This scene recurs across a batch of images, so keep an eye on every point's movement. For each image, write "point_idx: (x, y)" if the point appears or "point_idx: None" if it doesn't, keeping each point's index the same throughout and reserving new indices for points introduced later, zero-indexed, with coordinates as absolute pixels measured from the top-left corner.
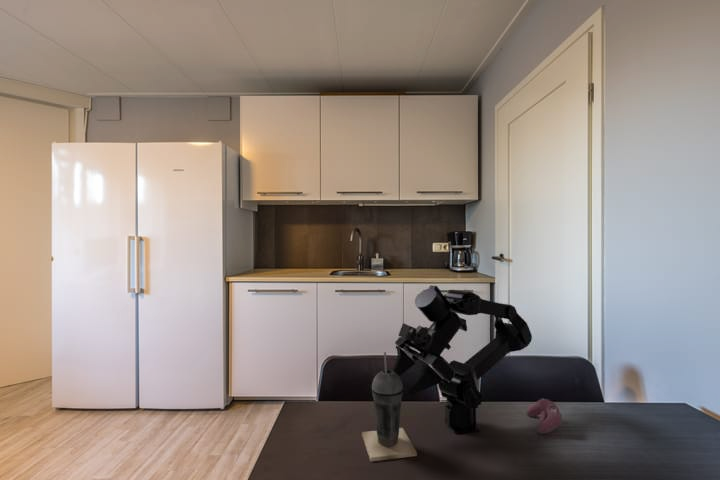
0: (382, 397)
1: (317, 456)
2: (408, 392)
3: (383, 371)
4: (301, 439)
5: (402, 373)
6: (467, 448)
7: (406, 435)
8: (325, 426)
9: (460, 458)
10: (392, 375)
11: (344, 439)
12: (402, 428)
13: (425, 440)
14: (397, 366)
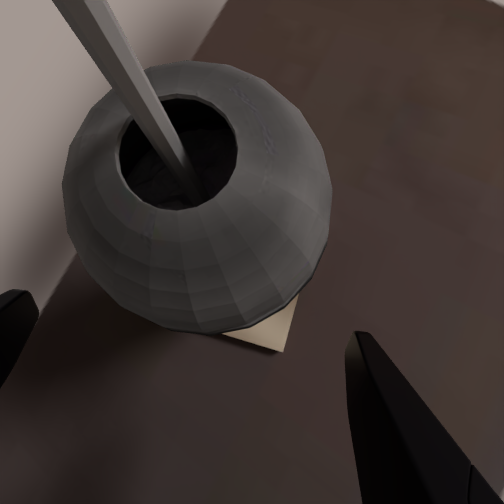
0: (140, 135)
1: (278, 51)
2: (19, 290)
3: (286, 175)
4: (383, 37)
5: (358, 475)
6: (82, 493)
7: (230, 333)
8: (428, 125)
9: (55, 427)
10: (84, 176)
11: (325, 149)
12: (278, 348)
13: (194, 388)
14: (401, 456)
